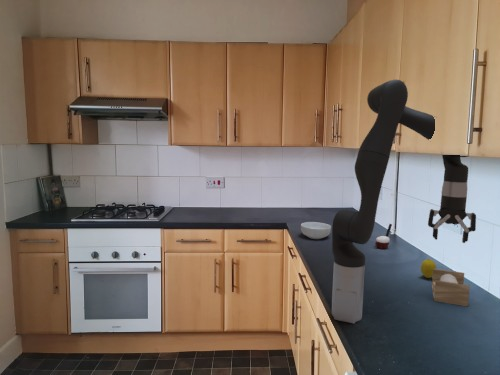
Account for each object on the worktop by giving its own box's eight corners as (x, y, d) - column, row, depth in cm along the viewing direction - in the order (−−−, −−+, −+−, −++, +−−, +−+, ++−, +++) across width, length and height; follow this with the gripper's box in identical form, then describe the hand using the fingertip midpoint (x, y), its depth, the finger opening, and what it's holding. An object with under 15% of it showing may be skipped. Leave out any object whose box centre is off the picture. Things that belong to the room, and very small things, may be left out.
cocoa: (376, 250, 180) (376, 227, 178) (371, 246, 186) (372, 224, 184) (394, 249, 180) (395, 226, 178) (389, 245, 186) (390, 223, 184)
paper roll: (451, 301, 123) (464, 291, 121) (438, 289, 124) (450, 279, 122) (448, 291, 131) (460, 282, 129) (436, 280, 132) (448, 270, 130)
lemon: (437, 281, 140) (439, 261, 139) (422, 280, 141) (423, 260, 140) (432, 276, 146) (434, 257, 144) (418, 275, 146) (419, 256, 145)
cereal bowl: (322, 243, 189) (322, 230, 188) (294, 238, 199) (295, 225, 198) (335, 236, 203) (336, 224, 202) (309, 231, 213) (309, 220, 212)
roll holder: (467, 306, 119) (469, 286, 118) (434, 300, 123) (435, 281, 122) (462, 291, 131) (463, 272, 130) (431, 286, 135) (433, 268, 134)
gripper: (431, 194, 122) (427, 240, 124) (480, 197, 116) (475, 246, 118) (430, 191, 129) (426, 235, 131) (476, 194, 123) (471, 240, 125)
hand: (449, 240), depth 124 cm, fingers open, 8 cm apart
